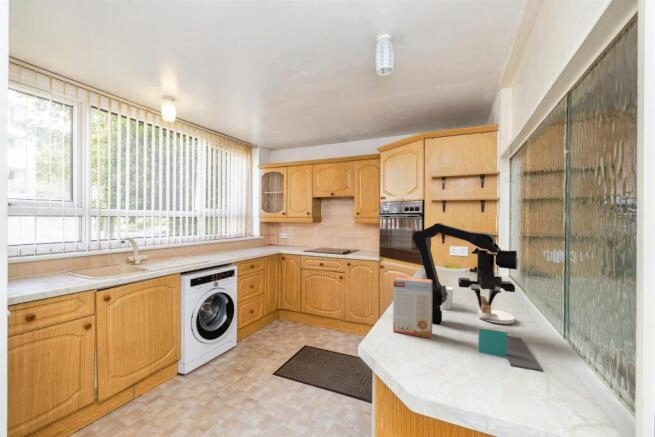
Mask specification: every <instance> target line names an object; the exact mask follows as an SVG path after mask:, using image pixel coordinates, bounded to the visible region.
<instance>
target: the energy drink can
mask: <svg viewBox="0 0 655 437" xmlns="http://www.w3.org/2000/svg"><path fill="white" fill-rule="evenodd" d="M418 278H419V279H427V277H426V273H425V271H420V272H419V274H418Z"/></svg>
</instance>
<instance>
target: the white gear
mask: <svg viewBox="0 0 655 437" xmlns="http://www.w3.org/2000/svg"><path fill="white" fill-rule="evenodd" d="M478 312H482V311H481V309H479V310H477V313H478ZM491 314H497V316H498V318H499V320H500V322H495V321H488V320H486V321H487V322H490V323H494V324H500V325H502V324H503V325H511V324H514V323H515V320H516V319H515V315H512V314H511V313H509V312H506V311H502V310H497V309H491Z"/></svg>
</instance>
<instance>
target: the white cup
mask: <svg viewBox="0 0 655 437" xmlns="http://www.w3.org/2000/svg"><path fill="white" fill-rule="evenodd" d="M445 286H446V285H445ZM446 292H447V293H448V295H447V299H446V301H445V302H444V303H442V305H441V306H440V307H441V310H442V311H443V310H444V311H450V310H451V311H452V309H453V300H454V299H453V296H454V287H451V286H446Z"/></svg>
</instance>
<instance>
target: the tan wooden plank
mask: <svg viewBox="0 0 655 437" xmlns="http://www.w3.org/2000/svg"><path fill="white" fill-rule="evenodd" d="M477 305H478V306H479V310H481V311H482V312H478V311H477V316H478V317H479V320H481V321H487V320H488V321H487V322H490V321H495V322H500V320H499V318H498V316H497V314H491V310H492V305H491V306H490V305H489V303H488V299H487V298H486V296H483V295H481V306H480V305H479V302H478V301H477Z"/></svg>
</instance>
